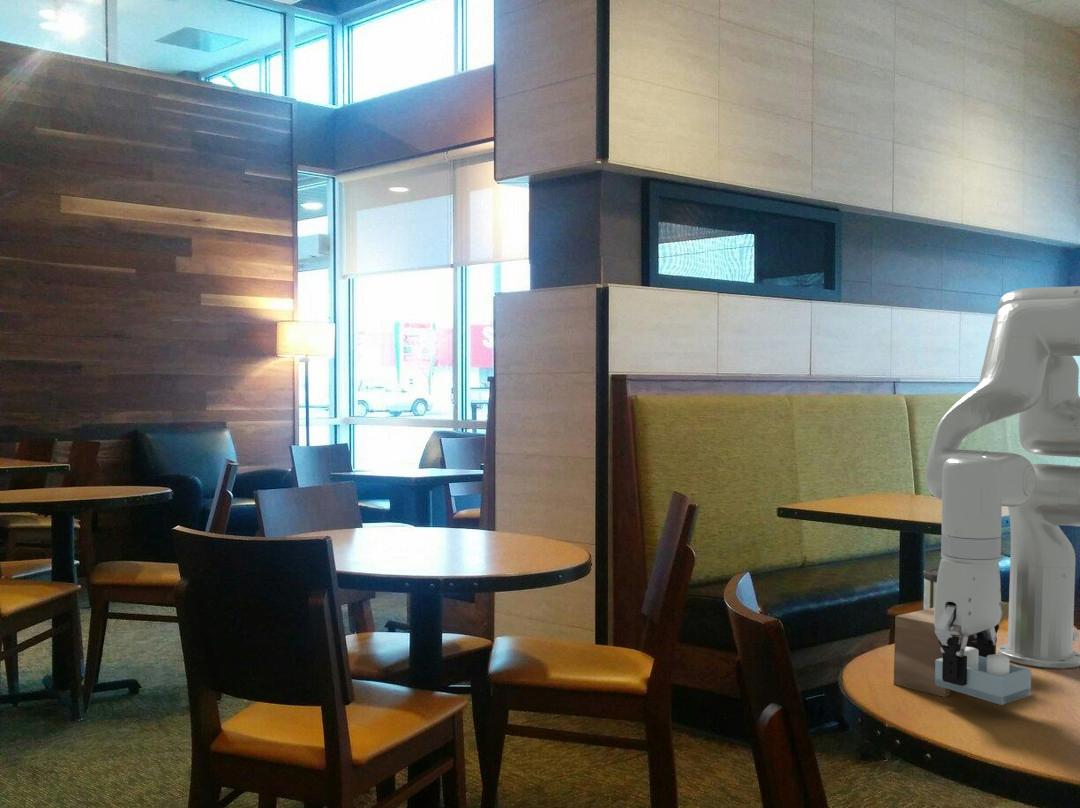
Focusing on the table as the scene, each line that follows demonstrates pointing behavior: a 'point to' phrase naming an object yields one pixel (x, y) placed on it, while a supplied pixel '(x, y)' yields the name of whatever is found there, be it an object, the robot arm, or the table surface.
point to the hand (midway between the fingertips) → (968, 676)
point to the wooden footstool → (919, 651)
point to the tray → (990, 678)
